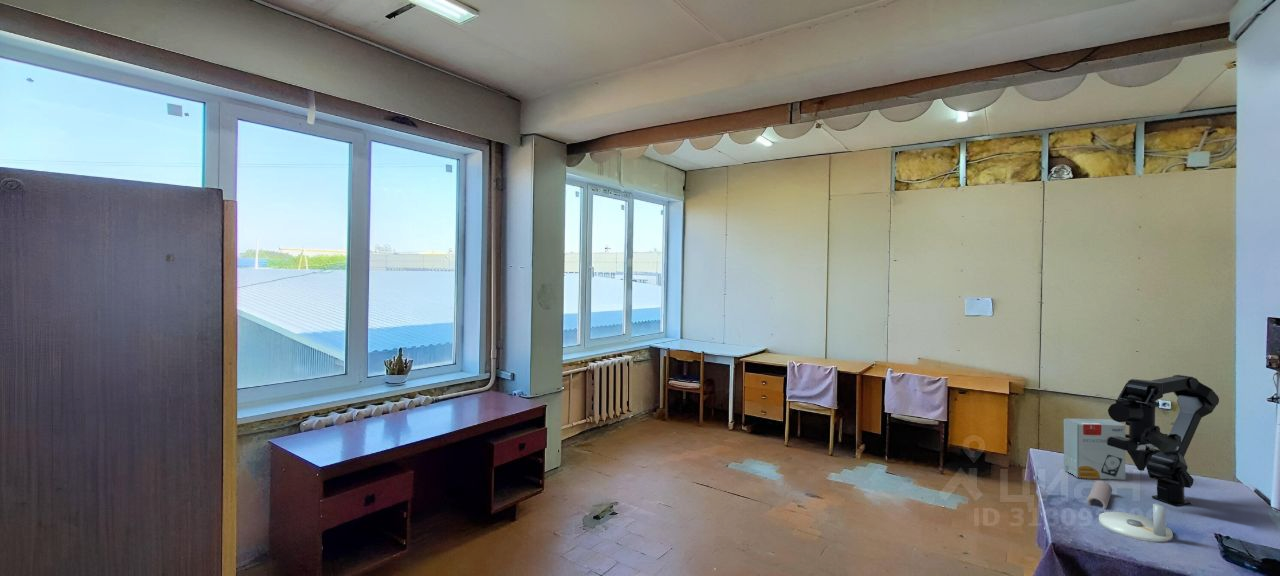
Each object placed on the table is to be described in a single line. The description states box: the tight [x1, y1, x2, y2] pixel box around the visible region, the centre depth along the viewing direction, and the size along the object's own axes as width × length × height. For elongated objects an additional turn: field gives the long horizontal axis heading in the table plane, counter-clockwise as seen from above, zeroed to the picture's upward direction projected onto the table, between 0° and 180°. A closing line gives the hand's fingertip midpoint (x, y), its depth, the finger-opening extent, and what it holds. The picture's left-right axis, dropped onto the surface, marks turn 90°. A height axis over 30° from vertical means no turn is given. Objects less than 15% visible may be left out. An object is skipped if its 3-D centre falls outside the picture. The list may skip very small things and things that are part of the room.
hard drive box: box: [1063, 418, 1126, 481], centre depth 183 cm, size 16×8×20 cm, turn 81°
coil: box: [1086, 480, 1113, 510], centre depth 163 cm, size 5×5×18 cm
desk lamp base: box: [1098, 503, 1174, 543], centre depth 144 cm, size 15×15×9 cm
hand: (1140, 470), depth 158 cm, fingers closed
